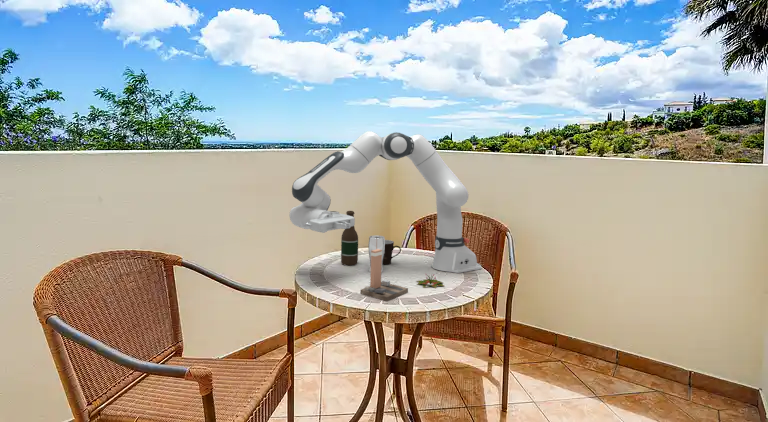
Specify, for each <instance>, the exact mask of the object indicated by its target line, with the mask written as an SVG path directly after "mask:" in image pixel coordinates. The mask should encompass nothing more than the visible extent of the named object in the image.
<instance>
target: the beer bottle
mask: <svg viewBox="0 0 768 422" xmlns="http://www.w3.org/2000/svg"><path fill="white" fill-rule="evenodd" d="M345 215H349V216H352V217H354V218H355V212H354V211H353V210H346V212H345ZM340 239H341V242H340V246H341V247H340V248H341V249H340V251H341V252H340V257H341V258H340V261H341V264H342V265H343V266H347V267H348V266H350V267H351V266H356V265H358V263H359V235H358V232H357V231H356V229H355V225H354V226H351V227H350V228H348V229H343V231H342V233H341V238H340Z"/></svg>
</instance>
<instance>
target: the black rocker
mask: <svg viewBox="0 0 768 422" xmlns="http://www.w3.org/2000/svg"><path fill="white" fill-rule="evenodd" d="M386 291H387V290H386V289H379V288H378V289H376V290H374V292H375V293H384V292H386Z"/></svg>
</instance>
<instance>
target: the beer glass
mask: <svg viewBox="0 0 768 422" xmlns="http://www.w3.org/2000/svg"><path fill="white" fill-rule="evenodd" d="M385 240H386V239H385V236H383V235H377V234H375V235H369V237H368V248H367V249H368V257H369V267H368V271H369V273H371V251H372V250H376V249H381V250H382V262H383V256H384V251H385ZM383 267H384V266H383V265H382V264H381V273H383V272H384V268H383Z"/></svg>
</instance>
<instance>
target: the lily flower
mask: <svg viewBox="0 0 768 422" xmlns="http://www.w3.org/2000/svg"><path fill="white" fill-rule="evenodd" d="M425 277H426V278H425V279H423V280H416V282H418V283H416V285H417V286H418V285H422V288H429V287H430V288H431V287H433V288H434V289H437V287H445V285H443V284H444V282H442V281H440V280H437V279H436V277H435V274H431V277H430V275H427V273H425ZM433 277H434V278H433Z"/></svg>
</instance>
